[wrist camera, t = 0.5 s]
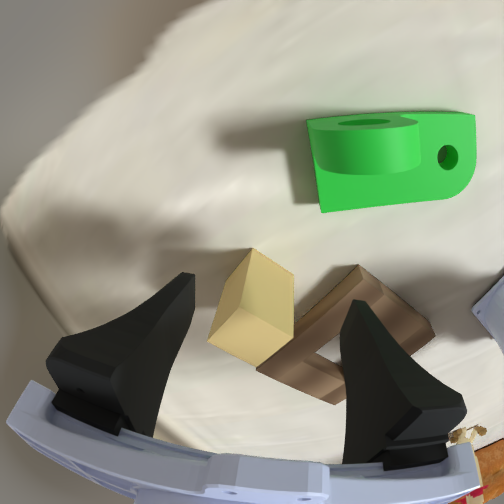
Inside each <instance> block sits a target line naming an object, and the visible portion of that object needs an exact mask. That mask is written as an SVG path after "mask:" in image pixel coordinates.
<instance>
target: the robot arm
mask: <svg viewBox="0 0 504 504" xmlns="http://www.w3.org/2000/svg"><path fill="white" fill-rule="evenodd" d="M194 310H195V274H190V273H184V272H182V273H180V274H179V275H178V276H177V277H175V278H174V279H173V280H172V281H171V282H169V283H168V284H167V285H166V286H165V287H163V288H162V289H161V290H160V291H158V292H157V293H156V294H155V295H153V296H152V297H151V298H149V299H148V300H146V301H145V302H144V303H142V304H141V305H139V306H138V307H136V308H135V309H133V310H132V311H130V312H128V313H126V314H125V315H123V316H121V317H119V318H117V319H115V320H112V321H110V322H108V323H106V324H104V325H101V326H99V327H96V328H94V329H91V330H88V331H85V332H82V333H78V334H74V335H70V336H66V337H62V338H61V340H60V341H59V342H58V343H57V345H56V346H55V348H54V349H53V351H52V352H51V353H50V355H49V356H48V358H47V360H46V366H47V369H48V371H49V373H50V374H51V376H52V378H53V380H54V381H55V383H56V385H57V386H58V388H59V390H58V392H57V394H55V393H54V392H53V391H51V390H50V389H48V388H46V387H44V386H42V385H40V384H38V383H36V382H35V381H33V380H31V381H30V383H29V384H28V386H27V387H26V389H25V390H24V392H23V393H22V395H21V397H20V399H19V400H18V402H17V403H16V405H15V407H14V408H13V410H12V412H11V414H10V415H9V417H8V419H7V421H6V423H7V424H8V425H9V426H10V427H11V428H12V429H13V430H14V431H15V432H16V433H17V434H18V435H19V436H20V437H21V438H22V439H23V440H24V441H26V442H27V443H28V444H29V445H30V446H31V447H32V448H34V449H35V450H37V451H38V452H40V453H42V454H43V455H45V456H47V457H48V458H50V459H52V460H53V461H55V462H57V463H59V464H61V465H63V466H64V467H66V468H68V469H69V470H71V471H73V472H75V473H77V474H79V475H81V476H83V477H85V478H87V479H89V480H91V481H93V482H95V483H97V484H99V485H101V486H103V487H105V488H108V489H110V490H112V491H114V492H117V493H119V494H122V495H124V496H127V497H129V498H132V499H134V500H135V501H134V504H448V503H450V502H452V501H454V500H456V499H458V498H460V497H462V496H464V495H466V494H468V493H470V492H471V491H473V490H475V489H477V488H479V486H480V482H479V477H478V472H477V467H476V463H475V458H474V454H473V450H472V446H471V442H466V443H462V444H457V445H453V446H450V447H448V448H447V447H446V442H448V441H449V437H448V433H449V432H450V431H451V430H452V429H454V428H455V427H456V426H457V425H458V424H459V423H460V422H461V421H462V420H463V419H464V417H465V416H466V414H467V409H466V406H465V403H464V400H463V397H462V394H460V393H458V392H456V391H455V390H453V389H451V388H450V387H448V386H446V385H445V384H443V383H442V382H440V381H439V380H437V379H436V378H435V377H433V376H432V375H431V374H429V373H428V372H427V371H426V370H425V369H423V368H422V367H421V366H420V365H419V364H418V363H417V362H415V361H414V360H413V359H412V358H411V357H410V356H409V355H408V354H407V353H406V352H405V350H404V349H403V348H402V347H401V346H400V345H399V344H398V343H397V341H396V340H395V339H394V338H393V337H392V335H391V334H390V333H389V332H388V330H387V329H386V328H385V326H384V325H383V324H382V323H381V321H380V320H379V318H378V317H377V316H376V314H375V313H374V312H373V310H372V309H371V308H370V306H369V305H368V304H367V303H366V301H362V300H355V299H353V300H352V303H351V305H350V308H349V310H348V313H347V315H346V318H345V320H344V322H343V325H342V327H341V330H340V352H341V359H342V366H343V373H344V380H345V388H346V433H345V445H344V454H343V461H342V464H323V463H321V462H313V461H302V460H286V459H275V458H265V457H257V456H249V455H242V454H231V453H222V454H217V453H212V452H207V451H202V450H198V449H193V448H189V447H185V446H181V445H177V444H173V443H169V442H165V441H162V440H158V439H155V438H153V434H154V429H155V425H156V420H157V416H158V412H159V408H160V404H161V400H162V397H163V393H164V390H165V386H166V383H167V380H168V376H169V373H170V370H171V368H172V365H173V363H174V360H175V358H176V356H177V354H178V351H179V349H180V347H181V345H182V343H183V340H184V338H185V336H186V334H187V331H188V329H189V327H190V324H191V320H192V317H193V314H194ZM472 312H473V314H474V315H475V316H476V317H477V319H478V320H479V321H480V322H481V323H482V325H483V326H484V327H485V328H486V329H487V331H488V332H489V333H490V334H491V336H492V337H493V338H494V339H495V341H496V342H497V343H498V345H499V347H500V349H501V351H502V353H503V355H504V276H503V277H502V278H501V279H500V280H499V281H498V282H497V283H496V284H495V285H494V286H493V287H492V289H491V290H490V291H489V292H488V293H487V294H486V295H485V296H484V297H483V298H482V299H480V300H479V301H478V302H477V303H476V304H475V305H474V306H473V308H472Z"/></svg>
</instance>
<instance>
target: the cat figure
mask: <svg viewBox="0 0 504 504" xmlns="http://www.w3.org/2000/svg"><path fill="white" fill-rule="evenodd" d="M466 431H467V430H466V427H465V428H463V429H461V428H460V429H458V430H457V431H455V432H453V436H454V437H453V438H451V439H450V441H451V443H456V442H457V444H462V443H466V442H471V443H472V442H473V440H474V439H475V437H476V435H477V433H478V434H479V435H481V436H483V435H485V434H486V432H487V430H486V428H483V427H481V426H480V427H479V426H477V427H475V428H474V430H473V431H472V433H471V437H470V439H468V438H466V437H465V435H466ZM457 444H456V445H457ZM471 446H472V450H473V454H474V458H475V463H476V467H477V472H478V477H479V482H480V486H479V488H477V489H475V490H473V491H471V492H470V493H468V494H466V495H464V496H466V497H465V498H463V499H460V500H457V501H455V502H458V503H459V502H461V503H462V504H483V502H484V498H483V489H486V488H487V487H488V485H486V486H483V483H482V478H481V473H480V468H479V463H478V459H477V456H475V453H474V448H473V445H471ZM464 496H462V497H464ZM462 497H461V498H462Z"/></svg>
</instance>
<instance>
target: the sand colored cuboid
mask: <svg viewBox="0 0 504 504" xmlns="http://www.w3.org/2000/svg"><path fill="white" fill-rule="evenodd" d="M293 331H294V274H292V273H291V272H289V271H288V270H286V269H284V268H283V267H281V266H280V265H278V264H277V263H275V262H274V261H272V260H271V259H269V258H268V257H266V256H265V255H263V254H262V253H260V252H259V251H257V250H256V249H254V248H252V250H251V251H250V252H249V253H248V254H247V256H246V257H245V258H244V259H243V261H242V262H241V263H240V264H239V265H238V267H237V268H236V269H235V270H234V272H233V273H232V274H231V275H230V276H229V278H228V279H227V280H226V282H225V286H224V289H223V292H222V295H221V298H220V301H219V304H218V308H217V311H216V314H215V317H214V320H213V323H212V327H211V330H210V333H209V336H208V339H207V342H209V343H211V344H213V345H215V346H216V347H218V348H220V349H222V350H224V351H226V352H228V353H230V354H231V355H233V356H235V357H237V358H239V359H241V360H243V361H245V362H247V363H249V364H251V365H253V366H255V367H257V366H259V365H260V364H261V363H263V362H264V361H265V360H266V359H268V358H269V357H270V356H271V355H273V354H274V353H275V352H276V351H278V350H279V349H280V348H281V347H283V346H284V345H285V344H286V343H287V342H289V341H290V340H291V339H292V338H293Z"/></svg>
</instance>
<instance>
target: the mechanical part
mask: <svg viewBox="0 0 504 504" xmlns="http://www.w3.org/2000/svg"><path fill="white" fill-rule="evenodd" d="M306 123H307V128H308V134H309V140H310V146H311V152H312V158H313V164H314V171H315V177H316V184H317V191H318V199H319V205H320V209H321V213H327V212H335V211H343V210H351V209H359V208H367V207H376V206H385V205H394V204H403V203H412V202H422V201H432V200H442V199H448V198H451V197H453V196H455V195H457V194H459V193H460V192H461V191H462V190H463V189H464V188H465V187H466V186H467V185H468V183H469V182H470V180H471V178H472V176H473V174H474V170H475V166H476V123H475V115H472V114H468V113H463V112H388V113H370V114H357V115H346V116H336V117H327V118H318V119H310V120H306ZM444 145H445V146H446V149H447V155H446V158H445V159H444V161H443V162H441V163H438V159H437V156H438V152H439V150H440V149H441V147H443V146H444Z"/></svg>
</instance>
